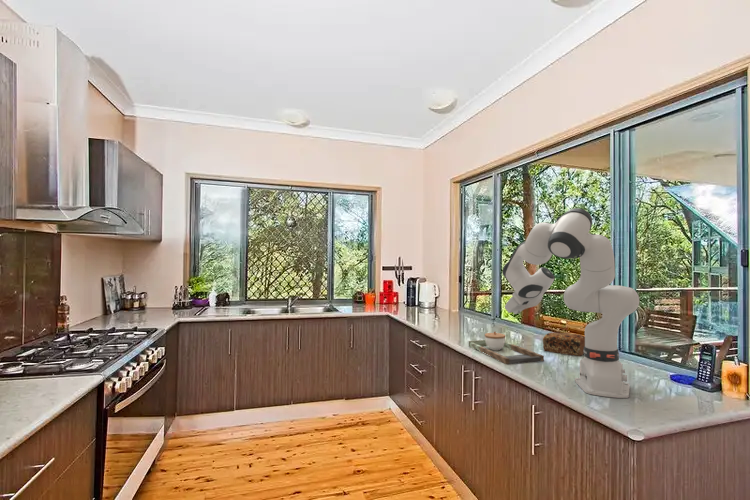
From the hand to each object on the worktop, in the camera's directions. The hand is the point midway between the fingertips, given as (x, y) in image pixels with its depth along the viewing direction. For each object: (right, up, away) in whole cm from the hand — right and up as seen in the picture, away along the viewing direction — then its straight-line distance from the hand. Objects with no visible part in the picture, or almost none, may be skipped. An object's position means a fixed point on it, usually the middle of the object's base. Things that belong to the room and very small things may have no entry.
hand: (516, 312), depth 194 cm
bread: (+29, -23, +11) cm, 39 cm away
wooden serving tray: (-3, -23, +10) cm, 25 cm away
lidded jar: (-4, -23, +20) cm, 31 cm away
